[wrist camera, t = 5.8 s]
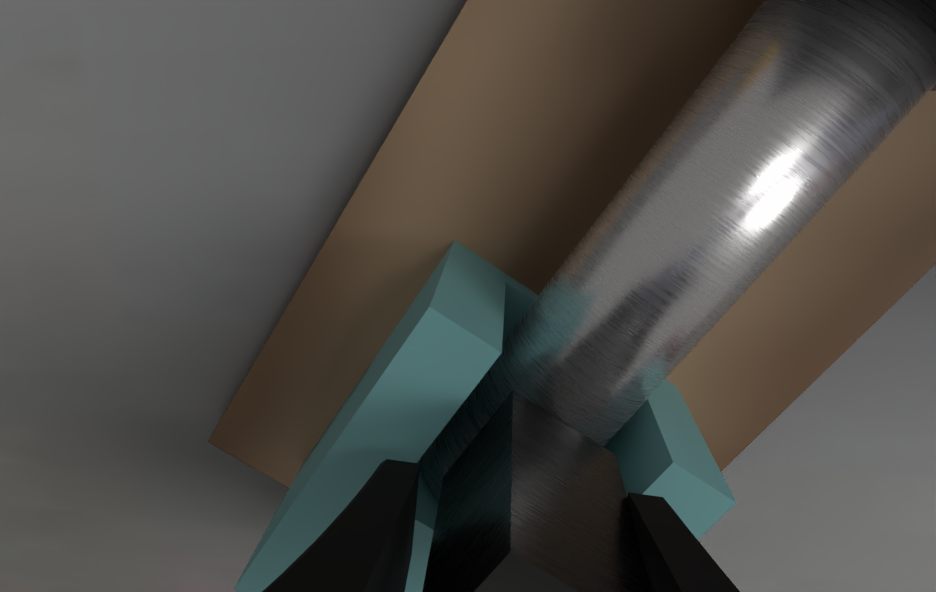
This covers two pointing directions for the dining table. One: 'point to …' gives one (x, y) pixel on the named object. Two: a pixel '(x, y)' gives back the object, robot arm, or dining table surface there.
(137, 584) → the dining table surface
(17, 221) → the dining table surface
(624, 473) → the teal cradle
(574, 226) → the walnut board
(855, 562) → the dining table surface
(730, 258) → the silver elongated piece
